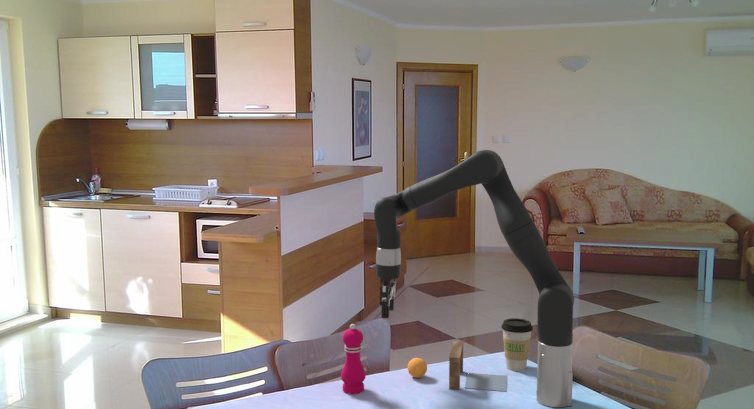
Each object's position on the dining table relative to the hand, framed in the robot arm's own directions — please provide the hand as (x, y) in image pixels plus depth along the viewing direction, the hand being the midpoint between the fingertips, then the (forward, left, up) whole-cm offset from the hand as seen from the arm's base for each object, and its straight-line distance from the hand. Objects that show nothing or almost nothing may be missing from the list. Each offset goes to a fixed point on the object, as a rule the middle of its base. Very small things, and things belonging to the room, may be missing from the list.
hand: (387, 314), depth 193 cm
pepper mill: (+8, +12, -20) cm, 25 cm away
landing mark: (-30, -1, -20) cm, 36 cm away
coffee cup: (-39, -15, -20) cm, 46 cm away
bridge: (-21, -1, -20) cm, 29 cm away
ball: (-9, -1, -17) cm, 19 cm away
